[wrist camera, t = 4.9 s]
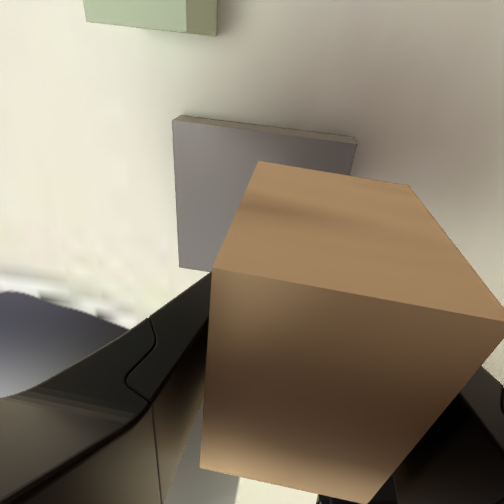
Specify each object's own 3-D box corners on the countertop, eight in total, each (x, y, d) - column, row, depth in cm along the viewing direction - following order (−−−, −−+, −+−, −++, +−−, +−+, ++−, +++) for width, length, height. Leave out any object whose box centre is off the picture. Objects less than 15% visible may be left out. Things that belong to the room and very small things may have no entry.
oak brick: (344, 340, 12) (366, 504, 7) (237, 319, 12) (199, 467, 8) (409, 185, 8) (515, 323, 4) (258, 160, 8) (212, 267, 4)
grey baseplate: (317, 276, 23) (317, 289, 22) (185, 255, 24) (179, 267, 23) (353, 137, 18) (357, 143, 16) (180, 115, 18) (172, 120, 17)
